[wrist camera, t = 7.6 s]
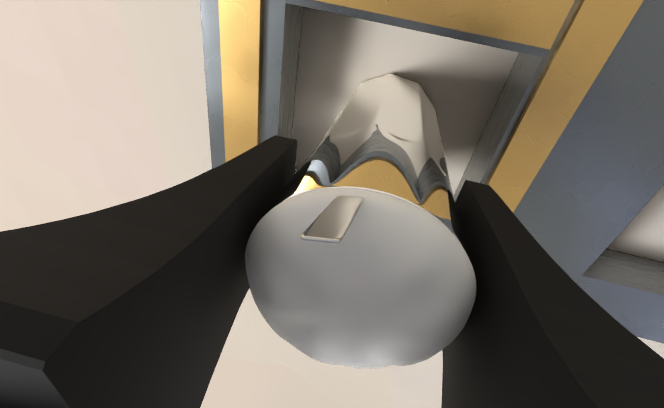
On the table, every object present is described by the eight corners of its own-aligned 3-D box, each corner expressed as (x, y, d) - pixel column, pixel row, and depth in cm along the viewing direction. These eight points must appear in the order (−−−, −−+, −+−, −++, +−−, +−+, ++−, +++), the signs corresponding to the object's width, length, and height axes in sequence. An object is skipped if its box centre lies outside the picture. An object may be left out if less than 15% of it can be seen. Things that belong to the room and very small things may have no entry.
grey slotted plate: (1188, 55, 9) (1375, 89, 7) (750, 330, 16) (788, 378, 15) (225, -129, 10) (185, -139, 8) (234, 202, 18) (214, 233, 16)
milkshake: (468, 26, 11) (552, 264, 3) (444, 174, 14) (460, 466, 7) (324, 27, 12) (136, 219, 4) (331, 166, 15) (231, 416, 8)
